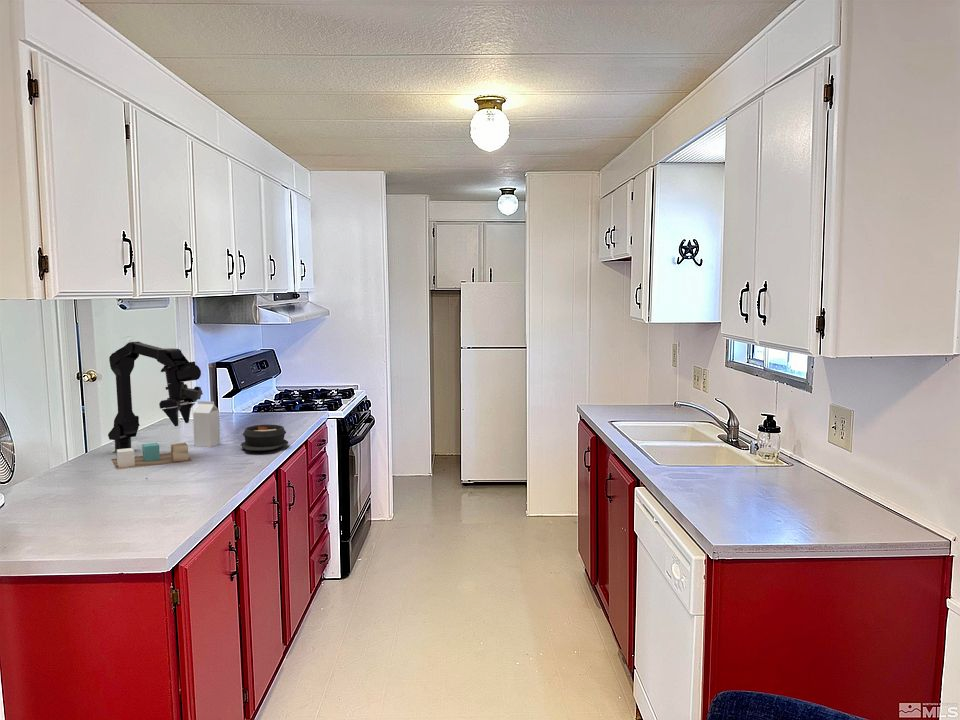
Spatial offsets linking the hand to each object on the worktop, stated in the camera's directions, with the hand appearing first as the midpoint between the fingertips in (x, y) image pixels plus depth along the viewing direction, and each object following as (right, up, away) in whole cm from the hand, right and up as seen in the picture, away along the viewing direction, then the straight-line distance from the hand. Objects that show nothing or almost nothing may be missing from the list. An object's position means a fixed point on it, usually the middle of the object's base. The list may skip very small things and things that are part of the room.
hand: (182, 424), depth 264 cm
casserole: (+23, -12, +26) cm, 37 cm away
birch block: (-1, -13, +1) cm, 13 cm away
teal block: (-11, -13, 0) cm, 17 cm away
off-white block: (-16, -14, -9) cm, 23 cm away
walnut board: (-11, -14, -1) cm, 18 cm away
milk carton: (0, -12, +25) cm, 28 cm away
